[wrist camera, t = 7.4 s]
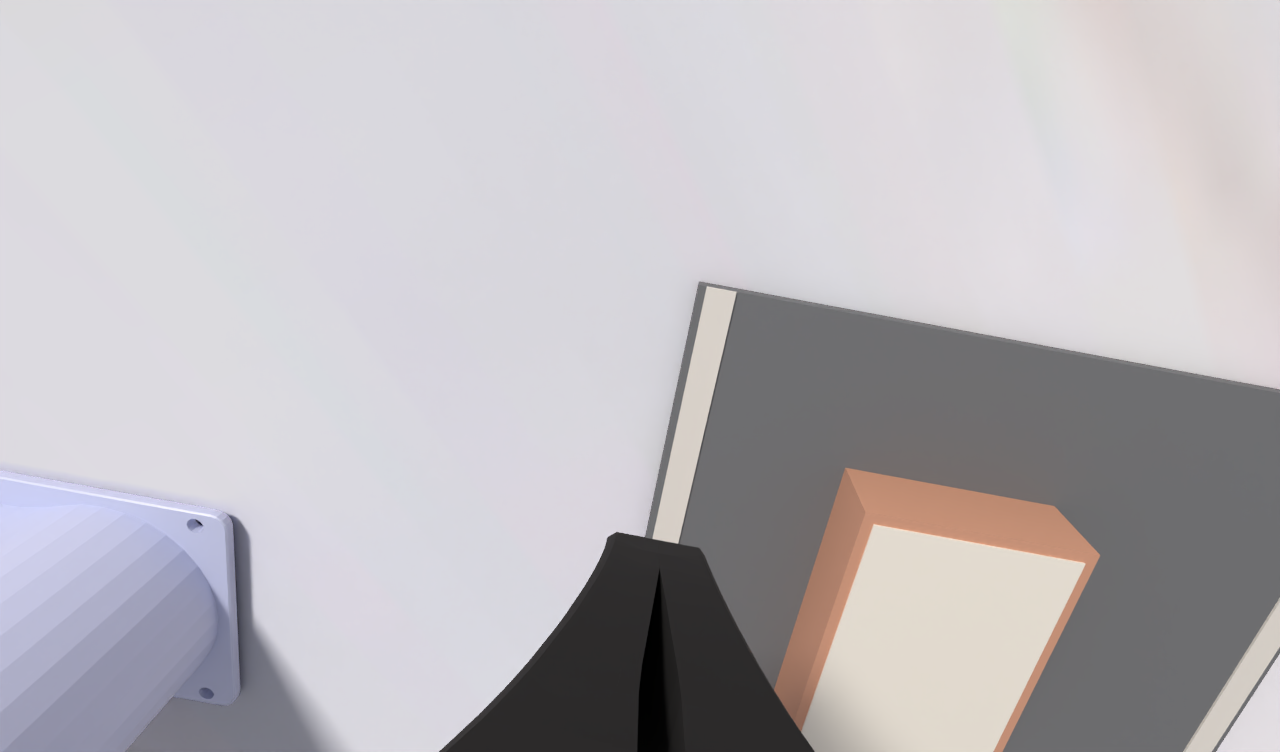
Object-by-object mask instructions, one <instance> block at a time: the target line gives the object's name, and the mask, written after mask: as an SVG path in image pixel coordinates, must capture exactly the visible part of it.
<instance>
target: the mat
mask: <svg viewBox="0 0 1280 752" xmlns="http://www.w3.org/2000/svg"><path fill="white" fill-rule="evenodd" d="M845 468H850V469H855V470H861V471H866V472H871V473H877V474H882V475H888V476H893V477H899V478H904V479H910V480H915V481H920V482H926V483H931V484H937V485H942V486H948V487H953V488H958V489H964V490H969V491H975V492H980V493H986V494H991V495H997V496H1002V497H1007V498H1013V499H1018V500H1024V501H1029V502H1035V503H1040V504H1046V505H1051V506H1055V507H1056V508H1057V509H1058V510H1059V512H1060V513H1061V514H1062V515H1063V516H1064V517H1065V518H1066V519H1067V520H1068V521H1069V522H1070V523H1071V524H1072V525H1073V527H1074V528H1075V529H1076V530H1077V531H1078V532H1079V533H1080V534H1081V535H1082V536H1083V537H1084V538H1085V539H1086V540H1087V542H1088V543H1089V544H1090V545H1091V546H1092V547H1093V548H1094V549H1095V550H1096V551H1097V552H1098V553H1099V554H1100V557H1099V559H1098V561H1097V563H1096V565H1095V567H1094V569H1093V571H1092V573H1091V575H1090V577H1089V579H1088V581H1087V583H1086V585H1085V587H1084V589H1083V591H1082V593H1081V595H1080V597H1079V599H1078V601H1077V603H1076V605H1075V607H1074V609H1073V611H1072V613H1071V615H1070V617H1069V619H1068V621H1067V623H1066V625H1065V627H1064V629H1063V631H1062V633H1061V635H1060V637H1059V639H1058V641H1057V643H1056V645H1055V647H1054V649H1053V651H1052V653H1051V655H1050V657H1049V659H1048V661H1047V663H1046V665H1045V667H1044V669H1043V671H1042V673H1041V675H1040V677H1039V680H1038V682H1037V684H1036V686H1035V688H1034V690H1033V692H1032V694H1031V696H1030V698H1029V700H1028V702H1027V704H1026V706H1025V708H1024V710H1023V712H1022V714H1021V716H1020V718H1019V720H1018V722H1017V724H1016V726H1015V728H1014V730H1013V732H1012V734H1011V736H1010V738H1009V740H1008V742H1007V744H1006V746H1005V748H1004V750H1003V752H1216V751H1217V749H1218V747H1219V746H1220V744H1221V743H1222V741H1223V740H1224V738H1225V737H1226V735H1227V734H1228V732H1229V731H1230V729H1231V727H1232V726H1233V724H1234V723H1235V721H1236V720H1237V718H1238V717H1239V715H1240V714H1241V712H1242V711H1243V709H1244V708H1245V706H1246V704H1247V703H1248V701H1249V700H1250V698H1251V697H1252V695H1253V694H1254V692H1255V691H1256V689H1257V688H1258V686H1259V684H1260V683H1261V681H1262V680H1263V678H1264V677H1265V675H1266V674H1267V672H1268V671H1269V669H1270V668H1271V666H1272V665H1273V663H1274V661H1275V660H1276V658H1277V657H1278V655H1279V654H1280V390H1279V389H1273V388H1268V387H1263V386H1257V385H1252V384H1247V383H1241V382H1236V381H1230V380H1225V379H1220V378H1214V377H1209V376H1204V375H1198V374H1193V373H1188V372H1182V371H1177V370H1171V369H1166V368H1161V367H1155V366H1150V365H1145V364H1139V363H1134V362H1128V361H1123V360H1118V359H1112V358H1107V357H1102V356H1096V355H1091V354H1086V353H1080V352H1075V351H1069V350H1064V349H1059V348H1053V347H1048V346H1043V345H1037V344H1032V343H1026V342H1021V341H1016V340H1010V339H1005V338H1000V337H994V336H989V335H984V334H978V333H973V332H967V331H962V330H957V329H951V328H946V327H941V326H935V325H930V324H925V323H919V322H914V321H908V320H903V319H898V318H892V317H887V316H882V315H876V314H871V313H865V312H860V311H855V310H849V309H844V308H839V307H833V306H828V305H823V304H817V303H812V302H806V301H801V300H796V299H790V298H785V297H780V296H774V295H769V294H763V293H758V292H753V291H747V290H742V289H737V288H731V287H726V286H721V285H715V284H710V283H704V282H699V284H698V289H697V294H696V298H695V303H694V308H693V313H692V317H691V322H690V327H689V332H688V336H687V341H686V346H685V351H684V355H683V360H682V365H681V370H680V374H679V379H678V384H677V389H676V393H675V398H674V403H673V408H672V412H671V417H670V422H669V426H668V431H667V436H666V441H665V445H664V450H663V455H662V460H661V464H660V469H659V474H658V479H657V483H656V488H655V493H654V498H653V502H652V507H651V512H650V517H649V521H648V526H647V531H646V535H645V538H650V539H656V540H661V541H666V542H671V543H677V544H682V545H687V546H693V547H698V548H700V549H701V551H702V552H703V554H704V555H705V558H706V560H707V562H708V565H709V567H710V569H711V572H712V574H713V576H714V579H715V581H716V583H717V585H718V587H719V590H720V592H721V594H722V596H723V598H724V600H725V602H726V604H727V606H728V608H729V610H730V612H731V614H732V616H733V618H734V620H735V622H736V624H737V626H738V628H739V630H740V632H741V633H742V635H743V637H744V639H745V641H746V643H747V644H748V646H749V648H750V650H751V652H752V653H753V655H754V657H755V659H756V661H757V663H758V664H759V666H760V668H761V669H762V671H763V673H764V674H765V676H766V678H767V680H768V681H769V683H770V685H771V686H772V688H773V689H774V688H775V685H776V682H777V679H778V676H779V673H780V669H781V666H782V663H783V660H784V657H785V654H786V651H787V648H788V645H789V641H790V638H791V635H792V632H793V629H794V626H795V623H796V620H797V617H798V613H799V610H800V607H801V604H802V601H803V598H804V595H805V592H806V589H807V585H808V582H809V579H810V576H811V573H812V570H813V567H814V564H815V561H816V557H817V554H818V551H819V548H820V545H821V542H822V539H823V536H824V533H825V529H826V526H827V523H828V520H829V517H830V514H831V511H832V508H833V505H834V501H835V498H836V495H837V492H838V489H839V486H840V483H841V480H842V476H843V473H844V470H845Z"/></svg>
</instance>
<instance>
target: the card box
mask: <svg viewBox="0 0 1280 752" xmlns="http://www.w3.org/2000/svg"><path fill="white" fill-rule="evenodd" d="M1099 557H1100V554H1099V553H1098V552H1097V551H1096V550H1095V549H1094V548H1093V547H1092V546H1091V545H1090V544H1089V543H1088V542H1087V540H1086V539H1085V538H1084V537H1083V536H1082V535H1081V534H1080V533H1079V532H1078V531H1077V530H1076V529H1075V528H1074V527H1073V525H1072V524H1071V523H1070V522H1069V521H1068V520H1067V519H1066V518H1065V517H1064V516H1063V515H1062V514H1061V513H1060V512H1059V510H1058V509H1057V508H1056V507H1055V506H1051V505H1046V504H1040V503H1035V502H1029V501H1024V500H1018V499H1013V498H1007V497H1002V496H997V495H991V494H986V493H980V492H975V491H969V490H964V489H958V488H953V487H948V486H942V485H937V484H931V483H926V482H920V481H915V480H910V479H904V478H899V477H893V476H888V475H882V474H877V473H871V472H866V471H861V470H855V469H850V468H845V470H844V473H843V476H842V480H841V483H840V486H839V489H838V492H837V495H836V498H835V501H834V505H833V508H832V511H831V514H830V517H829V520H828V523H827V526H826V529H825V533H824V536H823V539H822V542H821V545H820V548H819V551H818V554H817V557H816V561H815V564H814V567H813V570H812V573H811V576H810V579H809V582H808V585H807V589H806V592H805V595H804V598H803V601H802V604H801V607H800V610H799V613H798V617H797V620H796V623H795V626H794V629H793V632H792V635H791V638H790V641H789V645H788V648H787V651H786V654H785V657H784V660H783V663H782V666H781V669H780V673H779V676H778V679H777V682H776V685H775V688H774V691H775V692H776V694H777V696H778V697H779V699H780V700H781V702H782V704H783V705H784V707H785V708H786V710H787V711H788V713H789V715H790V716H791V718H792V719H793V721H794V722H795V724H796V725H797V727H798V728H799V730H800V731H801V733H802V734H803V735H804V737H805V738H806V740H807V741H808V743H809V744H810V745H811V747H812V748H813V750H814V751H815V752H1003V750H1004V748H1005V746H1006V744H1007V742H1008V740H1009V738H1010V736H1011V734H1012V732H1013V730H1014V728H1015V726H1016V724H1017V722H1018V720H1019V718H1020V716H1021V714H1022V712H1023V710H1024V708H1025V706H1026V704H1027V702H1028V700H1029V698H1030V696H1031V694H1032V692H1033V690H1034V688H1035V686H1036V684H1037V682H1038V680H1039V677H1040V675H1041V673H1042V671H1043V669H1044V667H1045V665H1046V663H1047V661H1048V659H1049V657H1050V655H1051V653H1052V651H1053V649H1054V647H1055V645H1056V643H1057V641H1058V639H1059V637H1060V635H1061V633H1062V631H1063V629H1064V627H1065V625H1066V623H1067V621H1068V619H1069V617H1070V615H1071V613H1072V611H1073V609H1074V607H1075V605H1076V603H1077V601H1078V599H1079V597H1080V595H1081V593H1082V591H1083V589H1084V587H1085V585H1086V583H1087V581H1088V579H1089V577H1090V575H1091V573H1092V571H1093V569H1094V567H1095V565H1096V563H1097V561H1098V559H1099Z"/></svg>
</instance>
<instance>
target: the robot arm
mask: <svg viewBox="0 0 1280 752" xmlns="http://www.w3.org/2000/svg"><path fill="white" fill-rule="evenodd" d="M195 519H196V520H198V521H200V522H201V523H202V525H203V526H202V525H199V524H198V523H197V522H196V520H195ZM239 694H240V671H239V648H238V626H237V603H236V580H235V557H234V535H233V523H232V520H231V519H230V517H229V516H228V515H227V514H225V513H224V512H222V511H219V510H216V509H211V508H205V507H200V506H194V505H189V504H183V503H178V502H172V501H167V500H161V499H156V498H150V497H145V496H139V495H134V494H128V493H123V492H117V491H112V490H106V489H101V488H95V487H90V486H84V485H79V484H73V483H68V482H62V481H57V480H51V479H46V478H40V477H34V476H29V475H23V474H18V473H12V472H7V471H1V470H0V752H125V751H126V750H127V749H128V748H129V747H130V745H131V744H132V743H133V742H134V741H135V740H136V739H137V737H138V736H139V735H140V734H141V733H142V732H143V730H144V729H145V728H146V727H147V726H148V725H149V723H150V722H151V721H152V720H153V719H154V718H155V717H156V715H157V714H158V713H159V712H160V711H161V710H162V708H163V707H164V706H165V705H166V704H167V703H168V701H169V700H170V699H171V698H172V697H177V698H183V699H188V700H194V701H199V702H205V703H211V704H216V705H230V704H232V703H233V702H234V701H235V700H236V698H237V697H238V696H239ZM439 752H815V751H814V750H813V748H812V747H811V745H810V744H809V743H808V741H807V740H806V738H805V737H804V735H803V734H802V733H801V731H800V730H799V728H798V727H797V725H796V724H795V722H794V721H793V719H792V718H791V716H790V715H789V713H788V711H787V710H786V708H785V707H784V705H783V704H782V702H781V700H780V699H779V697H778V696H777V694H776V692H775V691H774V689H773V688H772V686H771V685H770V683H769V681H768V680H767V678H766V676H765V674H764V673H763V671H762V669H761V668H760V666H759V664H758V663H757V661H756V659H755V657H754V655H753V653H752V652H751V650H750V648H749V646H748V644H747V643H746V641H745V639H744V637H743V635H742V633H741V632H740V630H739V628H738V626H737V624H736V622H735V620H734V618H733V616H732V614H731V612H730V610H729V608H728V606H727V604H726V602H725V600H724V598H723V596H722V594H721V592H720V590H719V587H718V585H717V583H716V581H715V579H714V576H713V574H712V572H711V569H710V567H709V565H708V562H707V560H706V558H705V555H704V554H703V552H702V551H701V549H700V548H698V547H693V546H687V545H682V544H677V543H671V542H666V541H661V540H656V539H650V538H645V537H640V536H634V535H629V534H624V533H619V532H616V533H614V534H613V535H611V536H609V537H608V538H607V542H606V546H605V549H604V551H603V553H602V556H601V558H600V560H599V562H598V564H597V566H596V568H595V570H594V571H593V573H592V575H591V577H590V578H589V580H588V582H587V583H586V585H585V587H584V588H583V590H582V591H581V593H580V594H579V596H578V597H577V599H576V600H575V602H574V603H573V604H572V606H571V607H570V609H569V610H568V612H567V613H566V615H565V616H564V618H563V619H562V620H561V622H560V623H559V624H558V626H557V627H556V628H555V629H554V631H553V632H552V633H551V634H550V636H549V637H548V638H547V639H546V641H545V642H544V643H543V644H542V646H541V647H540V648H539V649H538V651H537V652H536V653H535V654H534V656H533V657H532V658H531V659H530V661H529V662H528V663H527V664H526V665H525V666H524V668H523V669H522V670H521V671H520V672H519V673H518V674H517V675H516V677H515V678H514V679H513V680H512V681H511V682H510V683H509V684H508V685H507V686H506V687H505V689H504V690H503V691H502V692H501V693H500V694H499V695H498V696H497V697H496V698H495V699H494V700H493V701H492V702H491V703H490V704H489V705H488V706H487V707H486V708H485V709H484V710H483V711H482V712H481V713H480V714H479V715H478V716H477V717H476V718H475V719H474V720H473V721H472V722H471V723H470V724H468V725H467V726H466V727H465V728H464V729H463V730H462V731H461V732H460V733H459V734H458V735H457V736H456V737H455V738H453V739H452V740H451V741H450V742H449V743H448V744H447V745H446V746H445V747H444V748H443V749H442V750H440V751H439Z"/></svg>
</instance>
